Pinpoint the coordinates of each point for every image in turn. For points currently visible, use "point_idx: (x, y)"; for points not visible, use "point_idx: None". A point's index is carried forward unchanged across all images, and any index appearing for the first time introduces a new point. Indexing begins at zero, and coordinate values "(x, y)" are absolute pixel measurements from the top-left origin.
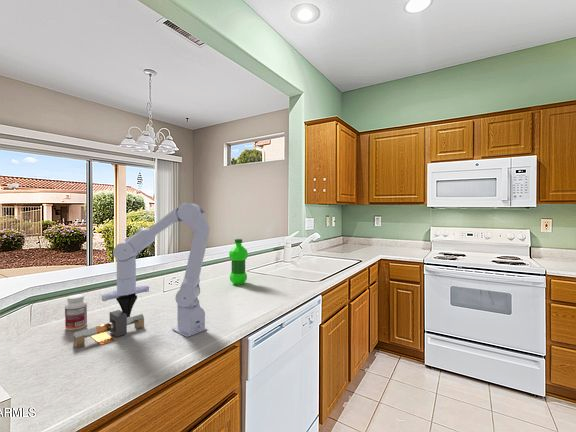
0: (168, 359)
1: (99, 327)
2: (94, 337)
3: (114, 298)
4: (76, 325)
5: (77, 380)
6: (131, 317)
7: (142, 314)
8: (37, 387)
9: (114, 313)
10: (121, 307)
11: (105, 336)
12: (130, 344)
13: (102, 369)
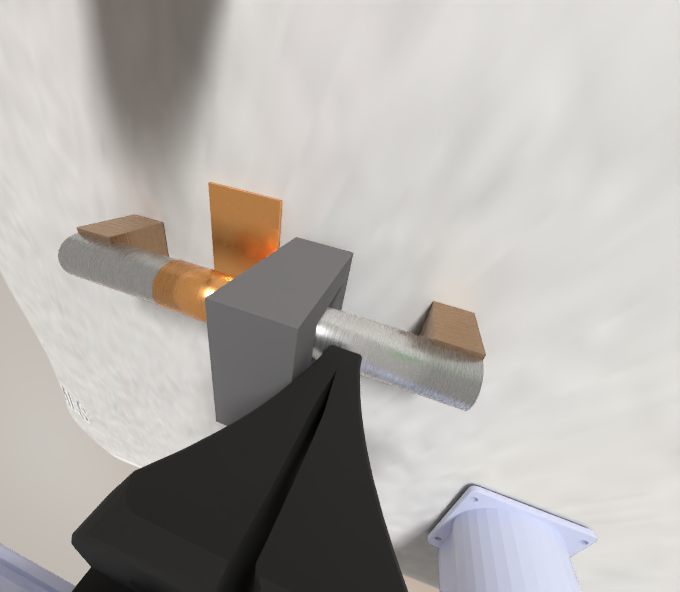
0: None
1: (174, 310)
2: (218, 223)
3: (38, 577)
4: None
5: (139, 411)
6: (377, 375)
7: (470, 407)
8: (74, 362)
9: (226, 362)
10: (277, 403)
11: None
12: None
13: (185, 427)
